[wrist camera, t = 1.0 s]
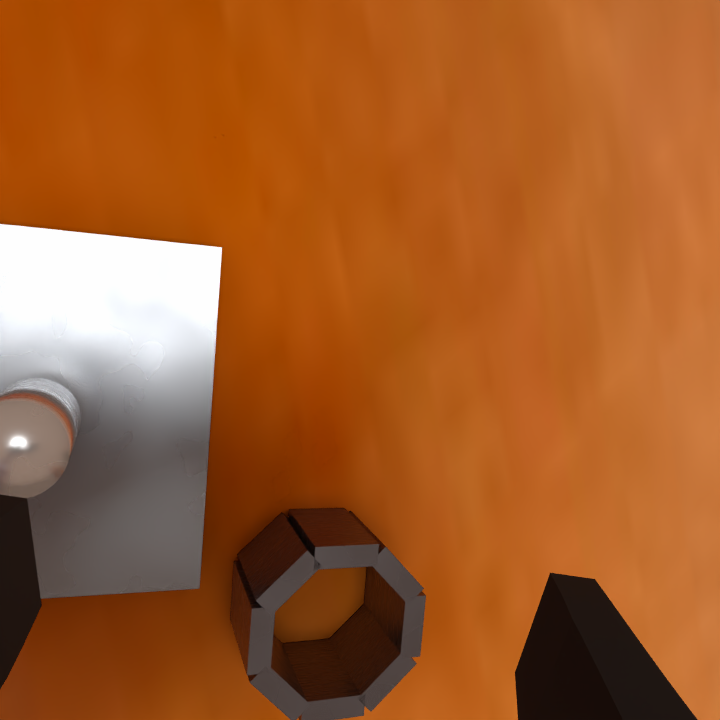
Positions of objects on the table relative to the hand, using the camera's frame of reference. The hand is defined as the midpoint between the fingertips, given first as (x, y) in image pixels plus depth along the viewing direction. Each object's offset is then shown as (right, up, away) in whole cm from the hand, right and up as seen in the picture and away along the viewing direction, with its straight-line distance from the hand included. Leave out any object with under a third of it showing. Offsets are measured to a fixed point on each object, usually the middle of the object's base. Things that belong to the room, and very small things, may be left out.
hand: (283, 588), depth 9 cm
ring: (-1, -5, +14) cm, 15 cm away
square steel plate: (-9, +2, +11) cm, 14 cm away
